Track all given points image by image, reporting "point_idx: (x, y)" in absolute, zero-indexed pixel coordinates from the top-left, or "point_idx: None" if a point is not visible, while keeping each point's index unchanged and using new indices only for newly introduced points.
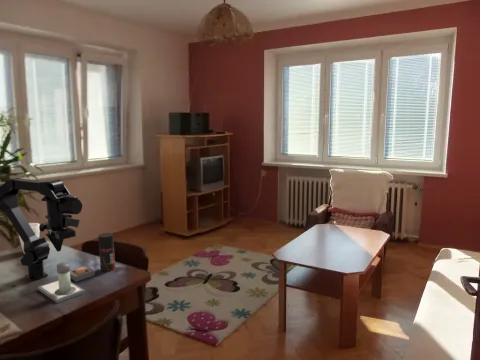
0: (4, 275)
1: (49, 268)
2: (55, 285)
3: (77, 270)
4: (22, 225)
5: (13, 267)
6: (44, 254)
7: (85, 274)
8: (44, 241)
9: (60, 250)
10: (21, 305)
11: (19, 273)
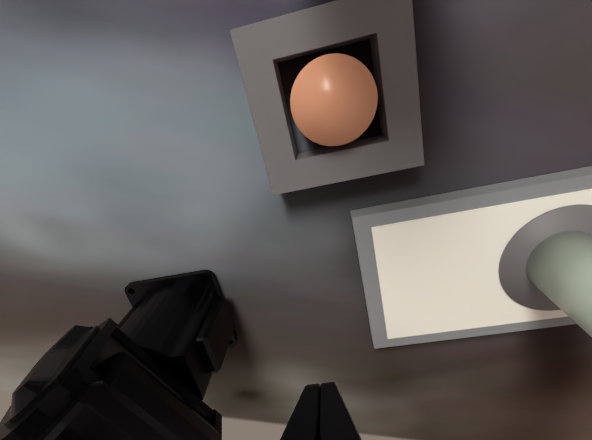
0: None
1: (87, 237)
2: (433, 284)
3: (342, 128)
4: None
5: (4, 364)
6: (169, 410)
7: (416, 80)
8: None
9: (335, 387)
10: (488, 406)
11: None
